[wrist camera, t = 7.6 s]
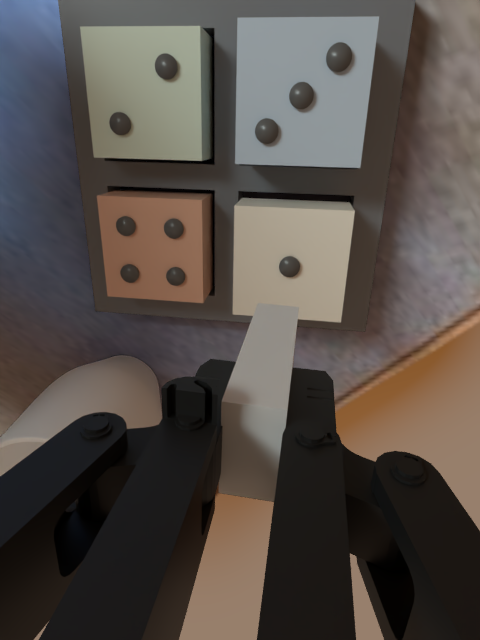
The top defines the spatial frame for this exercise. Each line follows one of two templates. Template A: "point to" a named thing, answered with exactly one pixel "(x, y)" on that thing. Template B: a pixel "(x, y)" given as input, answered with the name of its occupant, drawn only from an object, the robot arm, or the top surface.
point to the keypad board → (224, 175)
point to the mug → (84, 404)
